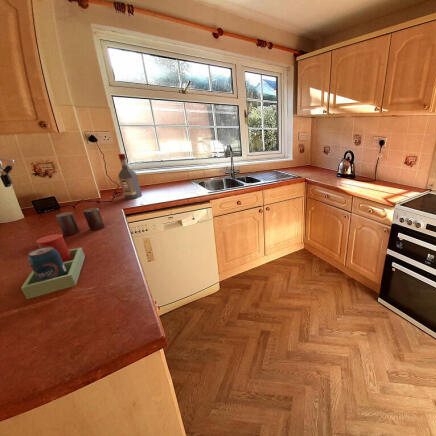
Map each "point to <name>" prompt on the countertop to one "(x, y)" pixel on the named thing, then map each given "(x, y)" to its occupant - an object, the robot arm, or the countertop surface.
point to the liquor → (128, 180)
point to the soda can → (46, 263)
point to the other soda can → (56, 245)
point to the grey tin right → (93, 219)
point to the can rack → (73, 269)
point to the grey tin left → (67, 223)
